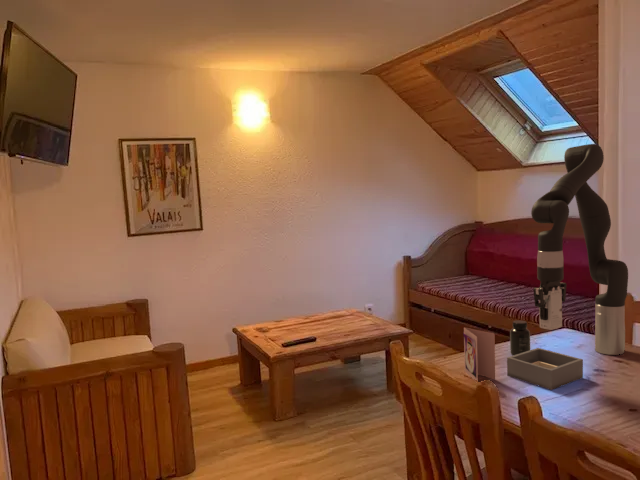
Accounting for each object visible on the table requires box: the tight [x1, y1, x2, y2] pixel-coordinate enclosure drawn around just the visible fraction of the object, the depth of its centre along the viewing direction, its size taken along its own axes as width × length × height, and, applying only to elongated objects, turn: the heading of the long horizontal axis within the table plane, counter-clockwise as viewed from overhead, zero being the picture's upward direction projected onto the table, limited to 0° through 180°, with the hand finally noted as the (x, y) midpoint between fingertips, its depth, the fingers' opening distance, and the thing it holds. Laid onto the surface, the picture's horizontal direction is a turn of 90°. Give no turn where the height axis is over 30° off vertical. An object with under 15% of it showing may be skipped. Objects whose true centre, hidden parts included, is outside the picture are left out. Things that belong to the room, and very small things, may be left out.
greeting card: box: [462, 327, 496, 382], centre depth 174 cm, size 11×7×15 cm, turn 5°
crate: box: [506, 347, 584, 391], centre depth 172 cm, size 16×16×6 cm
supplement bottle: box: [509, 319, 531, 356], centre depth 194 cm, size 7×7×12 cm
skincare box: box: [538, 289, 563, 331], centre depth 168 cm, size 6×4×12 cm
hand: (550, 317), depth 169 cm, fingers closed on skincare box, 6 cm apart
